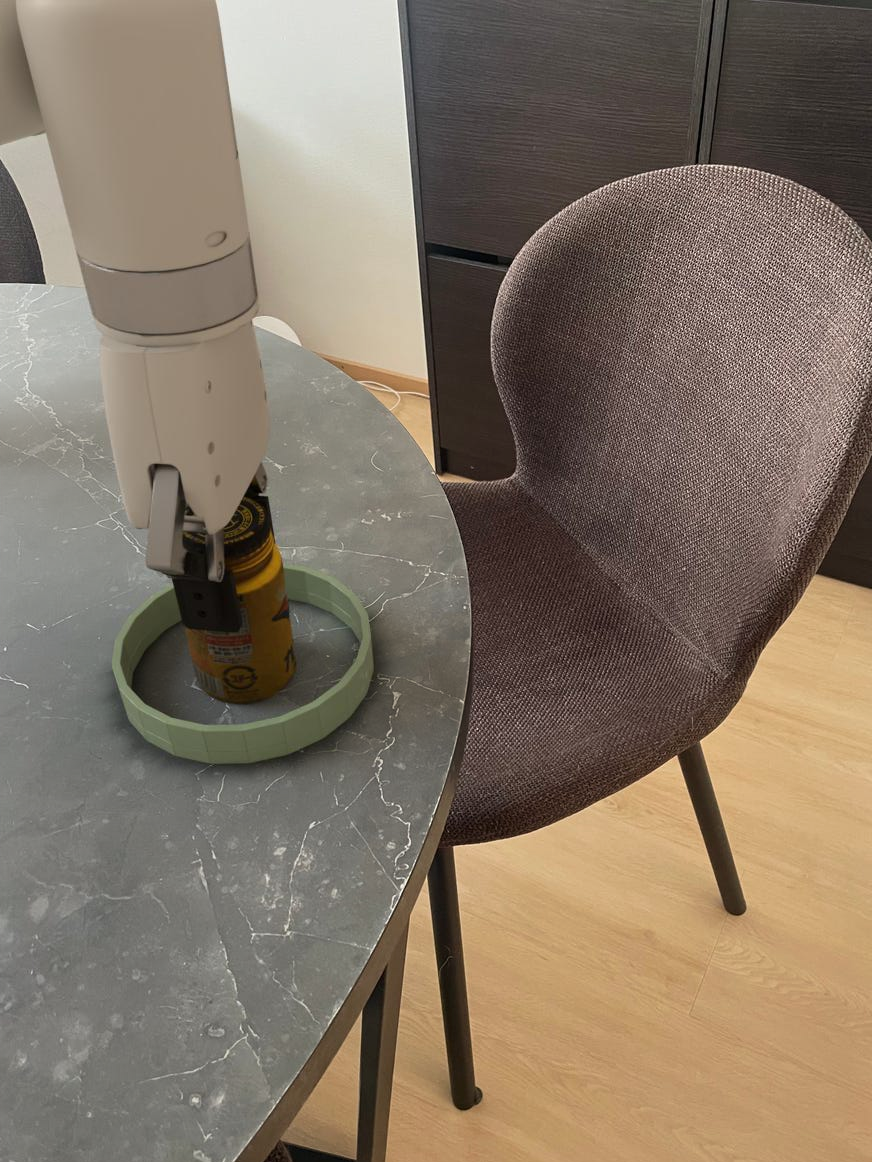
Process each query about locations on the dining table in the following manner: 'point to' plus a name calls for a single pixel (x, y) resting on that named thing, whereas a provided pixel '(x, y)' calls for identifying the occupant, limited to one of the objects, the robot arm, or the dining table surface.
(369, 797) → the dining table surface
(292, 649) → the yellow coffee can
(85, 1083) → the dining table surface
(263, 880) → the dining table surface
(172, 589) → the green faceted hoop
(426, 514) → the dining table surface
